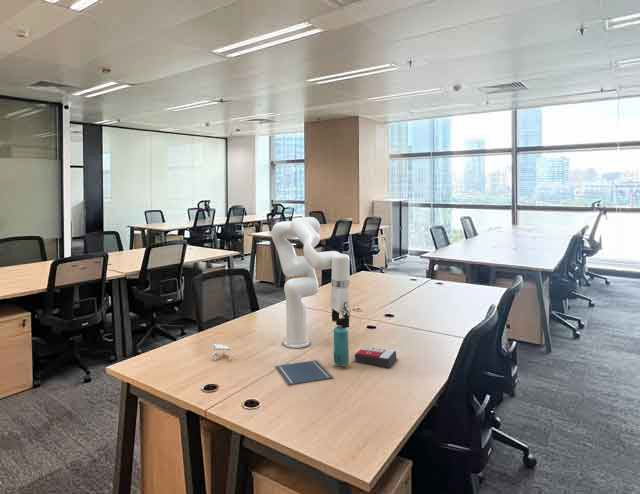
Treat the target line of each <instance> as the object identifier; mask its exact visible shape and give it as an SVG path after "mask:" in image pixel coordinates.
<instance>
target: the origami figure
mask: <svg viewBox="0 0 640 494" xmlns="http://www.w3.org/2000/svg"><path fill="white" fill-rule="evenodd" d="M213 350H214V351H213V352H212V354H211V357H214V358H215V359H213V361H217V360H218V359H219V357H218V356H217V352H218V351H223V352H222V355H223V356H225V352H226V351H229V352H230V355H231V356H229V357H228V362H230V360H231V359H232V357H233V356H234V354H233V352H232V349H231V348H230V347H229V346H228V345H225V344H222V343H221V344H220V343H219V344H218V343H215V344H214V343H213Z"/></svg>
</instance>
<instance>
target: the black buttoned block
mask: <svg viewBox="0 0 640 494" xmlns="http://www.w3.org/2000/svg"><path fill="white" fill-rule="evenodd" d="M354 358H355V359H354V360H355V362H356V363H363V364H370V365H376V366H378V367H380V368H386V369H390V368H391V366H393V364H394V363H395V361H396V360H397V350H395V349H386V348H382V347H374V346H366V345H363V347H362V348H360V349H359V350H358V351H357V352H356V353H355V354H354Z"/></svg>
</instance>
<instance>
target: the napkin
mask: <svg viewBox="0 0 640 494" xmlns="http://www.w3.org/2000/svg"><path fill="white" fill-rule="evenodd" d="M275 367H276V369H277V370H278V372H280V374H281V376H282V377H283V378H284V379H283V380H285V382H286V383H287V384H288V385H289V386H293V385H299V384H306V383H312V382H318V381H324V380H331V379H333V376H332V375H331V374H330V373H329V372H328V371H327V370H326V369H325V367H323V366H322V365H321V364H320V363H319V362H318V361H317V360H310V361H304V362H303V361H302V362H296V363H289V364H283V365H281V364H280V365H276V366H275Z"/></svg>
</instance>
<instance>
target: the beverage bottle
mask: <svg viewBox="0 0 640 494" xmlns="http://www.w3.org/2000/svg"><path fill="white" fill-rule="evenodd" d="M335 325H336V327H334V328H333V362H334V364H335V365H336V366H338V367H339V366H340V367H345V366H348V365H349V363H350V352H349V351H350V347H349V328H342V317H339V319H337V320H336V322H335Z"/></svg>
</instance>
